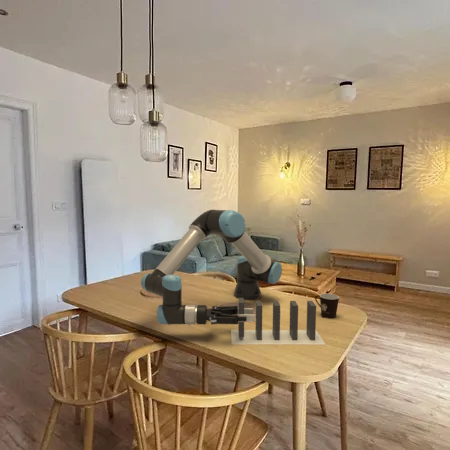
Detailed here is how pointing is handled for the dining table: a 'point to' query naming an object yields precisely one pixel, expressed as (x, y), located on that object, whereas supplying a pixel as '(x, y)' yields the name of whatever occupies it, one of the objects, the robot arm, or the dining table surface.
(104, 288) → the dining table surface
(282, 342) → the mat
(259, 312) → the domino
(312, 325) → the domino
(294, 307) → the domino
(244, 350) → the dining table surface
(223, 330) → the dining table surface
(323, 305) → the coffee mug
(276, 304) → the domino
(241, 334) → the domino
